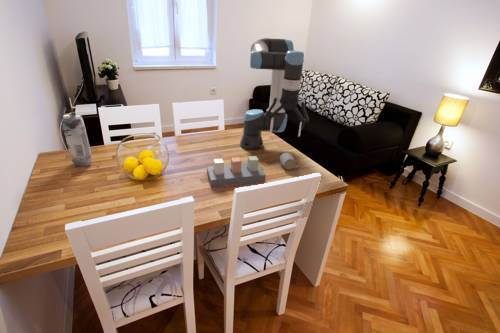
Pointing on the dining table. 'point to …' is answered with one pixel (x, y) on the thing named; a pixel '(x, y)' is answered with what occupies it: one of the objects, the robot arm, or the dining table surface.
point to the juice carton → (77, 140)
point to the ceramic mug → (288, 161)
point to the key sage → (252, 164)
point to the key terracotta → (236, 165)
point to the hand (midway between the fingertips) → (284, 133)
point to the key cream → (218, 166)
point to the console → (235, 176)
